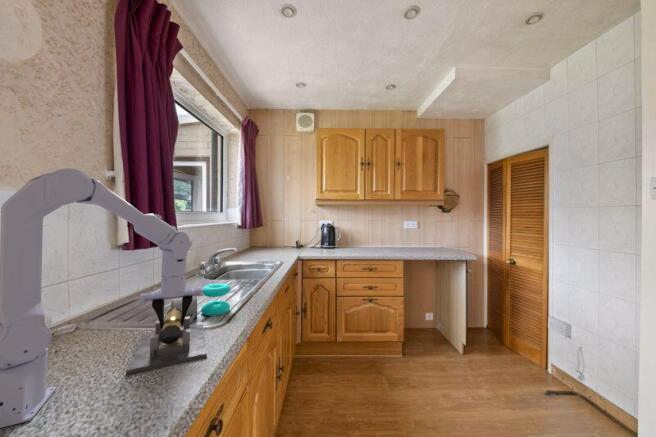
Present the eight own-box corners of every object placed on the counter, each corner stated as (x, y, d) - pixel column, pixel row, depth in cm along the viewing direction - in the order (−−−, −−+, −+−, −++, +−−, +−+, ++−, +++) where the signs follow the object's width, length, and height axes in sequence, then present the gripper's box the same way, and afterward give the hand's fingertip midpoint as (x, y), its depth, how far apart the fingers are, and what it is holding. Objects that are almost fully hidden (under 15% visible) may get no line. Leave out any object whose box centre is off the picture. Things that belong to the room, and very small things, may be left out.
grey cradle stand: (206, 357, 63) (207, 335, 63) (125, 375, 55) (126, 349, 55) (202, 327, 81) (203, 310, 81) (141, 337, 74) (142, 318, 74)
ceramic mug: (170, 317, 90) (171, 295, 90) (196, 313, 94) (197, 292, 94) (169, 328, 80) (170, 304, 81) (198, 323, 85) (199, 300, 85)
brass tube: (179, 342, 63) (180, 325, 63) (159, 345, 61) (160, 328, 61) (181, 321, 76) (182, 307, 76) (165, 323, 74) (166, 308, 74)
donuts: (228, 288, 92) (198, 289, 90) (227, 316, 92) (197, 317, 90) (232, 282, 102) (205, 283, 100) (231, 307, 101) (205, 308, 99)
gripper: (202, 270, 76) (201, 316, 75) (143, 274, 69) (142, 324, 68) (204, 275, 70) (202, 324, 69) (139, 279, 63) (137, 334, 62)
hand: (172, 325), depth 68 cm, fingers closed on brass tube, 4 cm apart
